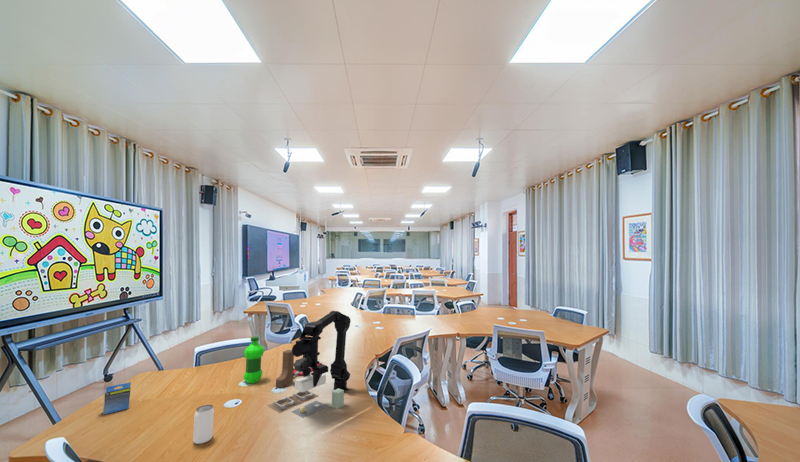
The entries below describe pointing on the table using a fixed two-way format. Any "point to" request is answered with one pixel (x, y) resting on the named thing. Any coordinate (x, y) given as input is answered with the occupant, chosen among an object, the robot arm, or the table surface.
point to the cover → (308, 382)
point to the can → (203, 424)
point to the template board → (309, 409)
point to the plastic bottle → (253, 361)
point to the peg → (337, 398)
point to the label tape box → (116, 398)
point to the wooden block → (286, 370)
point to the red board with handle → (297, 373)
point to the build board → (292, 401)
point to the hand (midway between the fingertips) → (310, 384)
